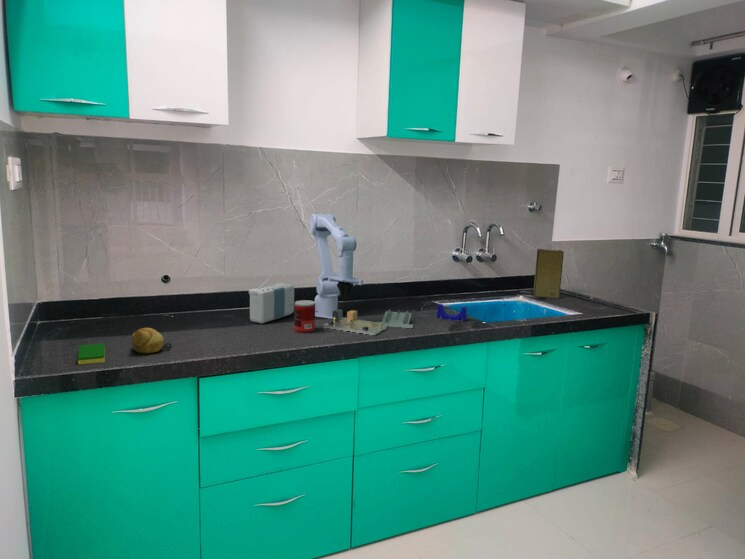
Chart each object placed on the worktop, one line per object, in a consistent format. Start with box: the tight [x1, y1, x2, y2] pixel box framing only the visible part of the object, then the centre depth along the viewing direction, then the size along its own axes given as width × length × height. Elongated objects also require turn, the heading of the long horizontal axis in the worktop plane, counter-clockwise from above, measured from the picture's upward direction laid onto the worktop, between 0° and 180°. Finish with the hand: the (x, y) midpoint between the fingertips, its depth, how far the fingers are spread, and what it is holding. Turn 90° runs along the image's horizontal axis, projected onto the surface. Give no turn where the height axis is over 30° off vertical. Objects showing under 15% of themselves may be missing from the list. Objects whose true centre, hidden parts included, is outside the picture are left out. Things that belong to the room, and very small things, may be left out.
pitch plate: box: [322, 308, 387, 336], centre depth 217 cm, size 22×12×6 cm, turn 66°
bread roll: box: [131, 327, 165, 355], centre depth 181 cm, size 13×10×8 cm
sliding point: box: [346, 309, 358, 324], centre depth 220 cm, size 2×5×4 cm, turn 156°
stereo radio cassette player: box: [248, 267, 295, 325], centre depth 226 cm, size 21×8×20 cm, turn 152°
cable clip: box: [436, 303, 468, 322], centre depth 239 cm, size 12×4×6 cm, turn 69°
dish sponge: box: [77, 343, 106, 365], centre depth 172 cm, size 7×14×2 cm, turn 25°
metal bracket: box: [376, 309, 414, 329], centre depth 227 cm, size 14×6×15 cm
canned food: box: [293, 299, 316, 334], centre depth 211 cm, size 8×8×11 cm
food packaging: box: [532, 248, 564, 300], centre depth 297 cm, size 13×9×25 cm
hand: (344, 300), depth 220 cm, fingers closed
